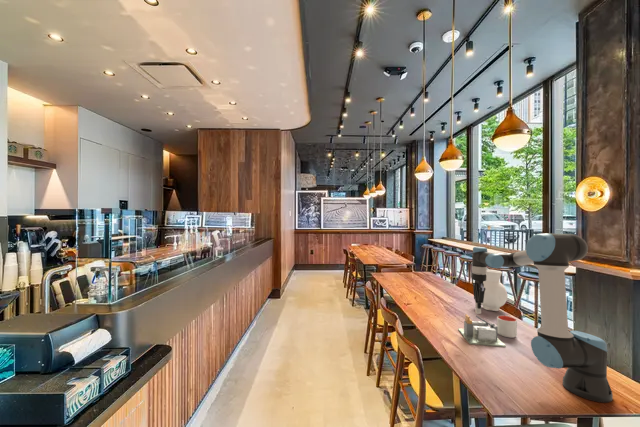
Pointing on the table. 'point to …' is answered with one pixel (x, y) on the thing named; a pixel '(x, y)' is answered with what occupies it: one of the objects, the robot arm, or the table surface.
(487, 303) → the vase
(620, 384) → the table surface
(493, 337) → the grey table caddy
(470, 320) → the clip
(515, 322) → the cup
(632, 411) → the table surface
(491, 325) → the strap
